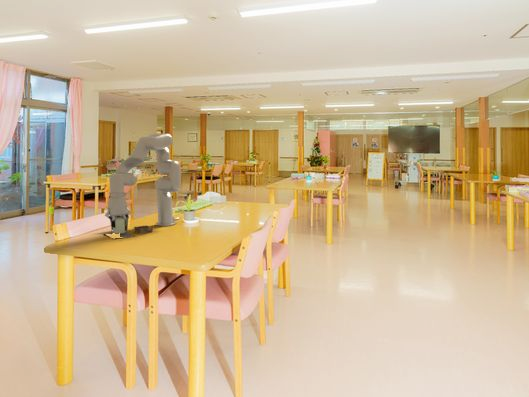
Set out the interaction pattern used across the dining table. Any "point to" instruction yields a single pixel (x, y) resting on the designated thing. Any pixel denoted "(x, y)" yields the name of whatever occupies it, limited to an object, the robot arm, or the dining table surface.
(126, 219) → the food container
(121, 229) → the sage block
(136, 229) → the walnut holder
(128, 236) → the charcoal mat
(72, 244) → the dining table surface
